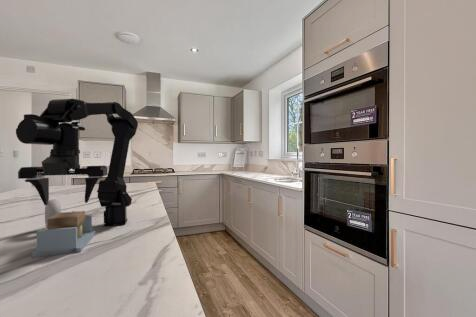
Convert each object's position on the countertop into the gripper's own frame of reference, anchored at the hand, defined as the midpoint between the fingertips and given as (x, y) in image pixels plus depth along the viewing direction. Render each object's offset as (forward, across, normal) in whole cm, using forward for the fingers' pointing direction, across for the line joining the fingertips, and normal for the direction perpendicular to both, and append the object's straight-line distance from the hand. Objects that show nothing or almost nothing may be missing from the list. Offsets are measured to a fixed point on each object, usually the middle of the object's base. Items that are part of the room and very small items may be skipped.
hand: (66, 203), depth 63 cm
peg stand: (+11, 0, 0) cm, 11 cm away
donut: (+11, -9, +16) cm, 21 cm away
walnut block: (+6, 0, 0) cm, 6 cm away
